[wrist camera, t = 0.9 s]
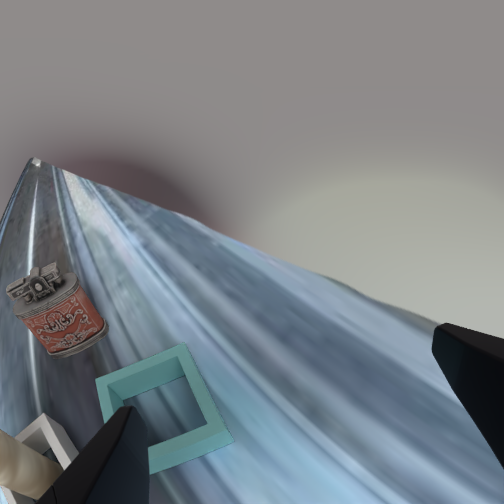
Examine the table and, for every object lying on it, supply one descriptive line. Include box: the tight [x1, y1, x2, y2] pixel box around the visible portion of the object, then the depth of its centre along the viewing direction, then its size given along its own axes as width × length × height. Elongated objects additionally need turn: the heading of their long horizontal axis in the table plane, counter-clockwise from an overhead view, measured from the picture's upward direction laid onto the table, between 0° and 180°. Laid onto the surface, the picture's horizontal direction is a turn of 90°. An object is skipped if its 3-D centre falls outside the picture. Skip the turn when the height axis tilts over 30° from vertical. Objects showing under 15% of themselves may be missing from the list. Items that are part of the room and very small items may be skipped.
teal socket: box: [95, 342, 234, 474], centre depth 22 cm, size 9×9×3 cm
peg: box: [0, 429, 64, 500], centre depth 13 cm, size 4×4×13 cm
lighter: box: [7, 263, 109, 359], centre depth 27 cm, size 8×3×10 cm, turn 120°
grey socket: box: [0, 413, 79, 504], centre depth 16 cm, size 9×9×3 cm
